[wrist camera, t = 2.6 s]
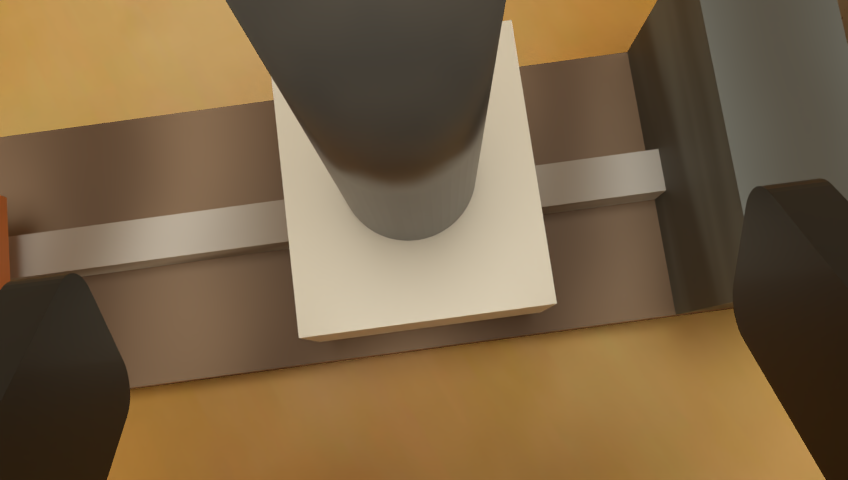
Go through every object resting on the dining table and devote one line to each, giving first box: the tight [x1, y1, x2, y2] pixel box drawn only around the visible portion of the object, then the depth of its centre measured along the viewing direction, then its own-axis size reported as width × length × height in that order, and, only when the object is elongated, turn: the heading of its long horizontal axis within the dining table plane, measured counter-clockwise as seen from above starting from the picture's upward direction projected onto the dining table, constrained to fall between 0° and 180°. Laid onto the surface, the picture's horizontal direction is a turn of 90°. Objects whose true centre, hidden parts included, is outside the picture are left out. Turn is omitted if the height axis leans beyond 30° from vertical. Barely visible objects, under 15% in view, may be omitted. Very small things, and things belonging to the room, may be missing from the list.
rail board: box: [0, 0, 848, 389], centre depth 20 cm, size 30×8×8 cm, turn 98°
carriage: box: [226, 0, 557, 342], centre depth 15 cm, size 6×7×14 cm
